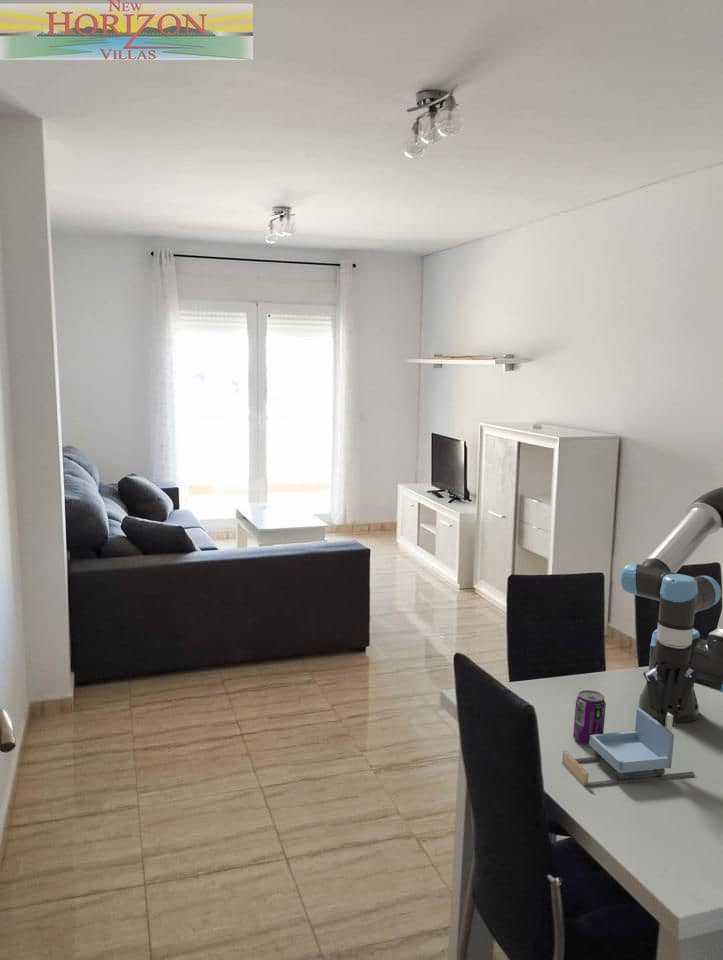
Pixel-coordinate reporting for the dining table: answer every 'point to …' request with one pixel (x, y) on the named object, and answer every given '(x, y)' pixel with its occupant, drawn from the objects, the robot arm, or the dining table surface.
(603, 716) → the beverage can
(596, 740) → the pale blue open box
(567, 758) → the track
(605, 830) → the dining table surface
